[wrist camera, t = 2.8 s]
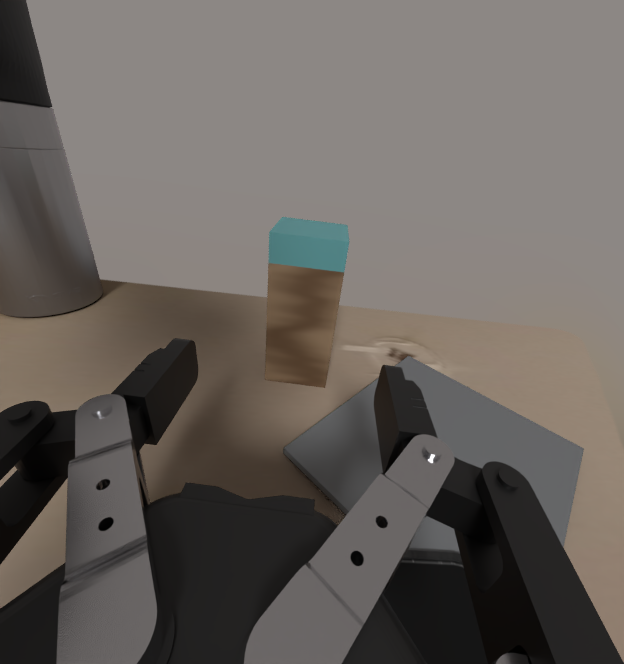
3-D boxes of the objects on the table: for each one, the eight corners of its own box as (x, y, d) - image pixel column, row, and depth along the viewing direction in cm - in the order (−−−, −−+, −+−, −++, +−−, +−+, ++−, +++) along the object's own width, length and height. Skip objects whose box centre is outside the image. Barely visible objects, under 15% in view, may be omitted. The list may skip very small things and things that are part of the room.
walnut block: (265, 379, 25) (269, 231, 19) (275, 346, 29) (282, 216, 23) (324, 387, 25) (349, 241, 19) (327, 353, 29) (347, 225, 23)
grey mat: (283, 452, 19) (283, 447, 19) (407, 360, 30) (408, 355, 29) (527, 694, 11) (533, 690, 11) (579, 453, 22) (583, 448, 22)
